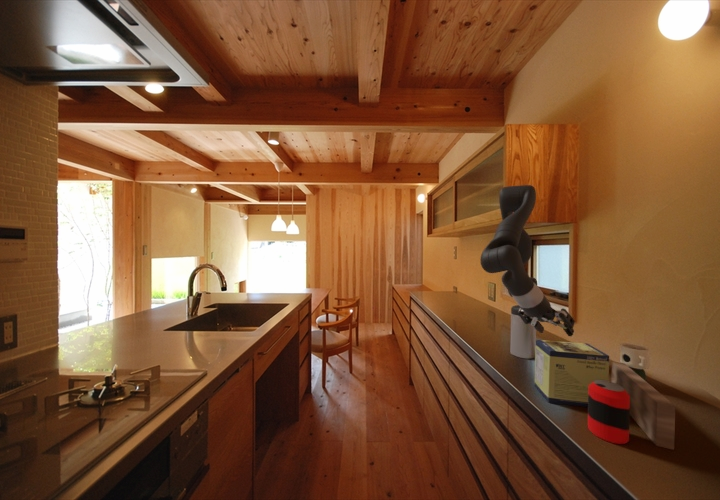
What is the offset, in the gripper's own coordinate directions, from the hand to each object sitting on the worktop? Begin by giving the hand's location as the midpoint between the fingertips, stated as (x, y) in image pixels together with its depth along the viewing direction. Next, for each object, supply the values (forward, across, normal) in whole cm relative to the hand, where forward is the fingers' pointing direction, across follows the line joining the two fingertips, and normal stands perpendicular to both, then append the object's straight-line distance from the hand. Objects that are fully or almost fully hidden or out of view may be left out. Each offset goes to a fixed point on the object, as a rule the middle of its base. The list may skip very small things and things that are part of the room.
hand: (556, 332), depth 88 cm
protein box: (+14, -1, +13) cm, 19 cm away
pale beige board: (+20, -14, +11) cm, 26 cm away
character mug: (+35, -6, -6) cm, 36 cm away
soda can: (+8, -14, +22) cm, 28 cm away
